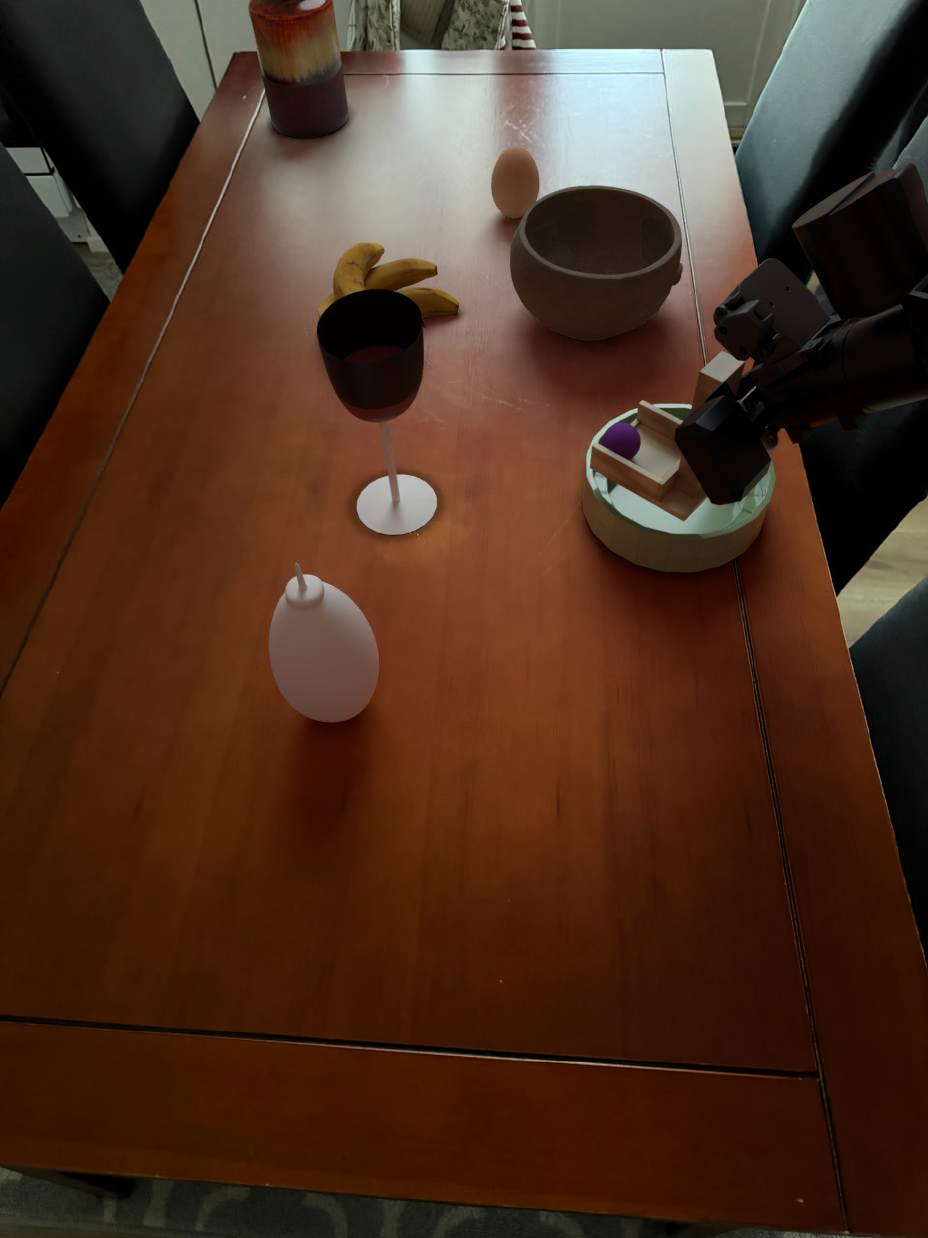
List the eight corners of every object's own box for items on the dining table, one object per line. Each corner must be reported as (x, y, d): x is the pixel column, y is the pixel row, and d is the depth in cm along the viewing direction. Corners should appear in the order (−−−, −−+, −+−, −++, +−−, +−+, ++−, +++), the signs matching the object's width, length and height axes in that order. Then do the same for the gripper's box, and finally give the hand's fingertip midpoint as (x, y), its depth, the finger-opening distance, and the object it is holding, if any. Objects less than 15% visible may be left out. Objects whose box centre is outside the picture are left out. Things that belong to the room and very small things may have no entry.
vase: (354, 131, 123) (331, -44, 106) (276, 143, 122) (240, -31, 105) (342, 94, 129) (318, -77, 113) (267, 105, 128) (232, -65, 111)
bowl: (692, 285, 101) (709, 200, 93) (635, 382, 92) (647, 298, 84) (551, 248, 106) (555, 165, 98) (484, 337, 97) (482, 253, 89)
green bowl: (776, 465, 85) (789, 426, 81) (742, 596, 77) (755, 560, 72) (609, 427, 89) (614, 387, 85) (559, 548, 80) (562, 510, 76)
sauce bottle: (389, 659, 74) (360, 514, 60) (384, 744, 70) (352, 611, 55) (295, 661, 75) (243, 517, 60) (284, 746, 70) (225, 614, 55)
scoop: (732, 471, 76) (767, 349, 65) (684, 522, 73) (712, 402, 62) (639, 422, 79) (658, 298, 69) (589, 468, 77) (601, 346, 66)
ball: (653, 448, 74) (623, 439, 72) (628, 473, 76) (599, 465, 75) (642, 419, 75) (613, 410, 74) (619, 444, 78) (590, 436, 76)
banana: (326, 390, 93) (316, 345, 89) (319, 280, 104) (310, 235, 100) (472, 373, 94) (470, 327, 89) (450, 265, 105) (447, 220, 100)
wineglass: (345, 536, 82) (304, 359, 66) (364, 467, 87) (330, 286, 71) (431, 543, 81) (412, 365, 65) (445, 472, 86) (430, 291, 70)
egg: (532, 231, 108) (534, 162, 101) (486, 225, 109) (485, 157, 102) (543, 204, 111) (545, 136, 104) (497, 199, 112) (497, 132, 106)
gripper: (888, 182, 58) (709, 271, 71) (729, 327, 50) (563, 396, 64) (957, 333, 61) (774, 391, 75) (818, 491, 53) (642, 523, 67)
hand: (692, 421), depth 70 cm, fingers closed on scoop, 3 cm apart
